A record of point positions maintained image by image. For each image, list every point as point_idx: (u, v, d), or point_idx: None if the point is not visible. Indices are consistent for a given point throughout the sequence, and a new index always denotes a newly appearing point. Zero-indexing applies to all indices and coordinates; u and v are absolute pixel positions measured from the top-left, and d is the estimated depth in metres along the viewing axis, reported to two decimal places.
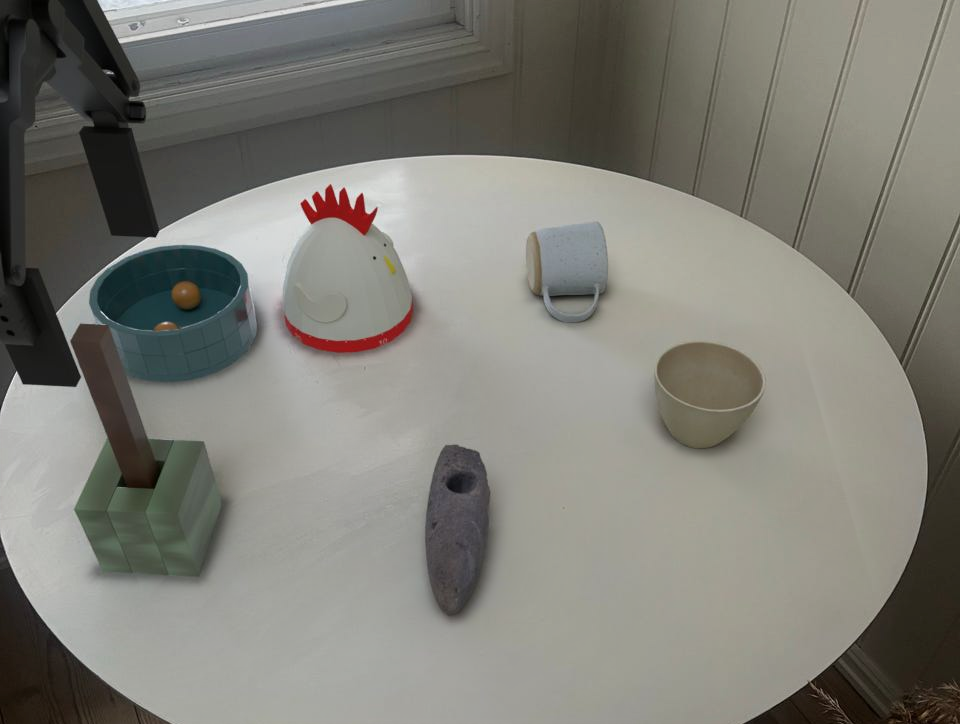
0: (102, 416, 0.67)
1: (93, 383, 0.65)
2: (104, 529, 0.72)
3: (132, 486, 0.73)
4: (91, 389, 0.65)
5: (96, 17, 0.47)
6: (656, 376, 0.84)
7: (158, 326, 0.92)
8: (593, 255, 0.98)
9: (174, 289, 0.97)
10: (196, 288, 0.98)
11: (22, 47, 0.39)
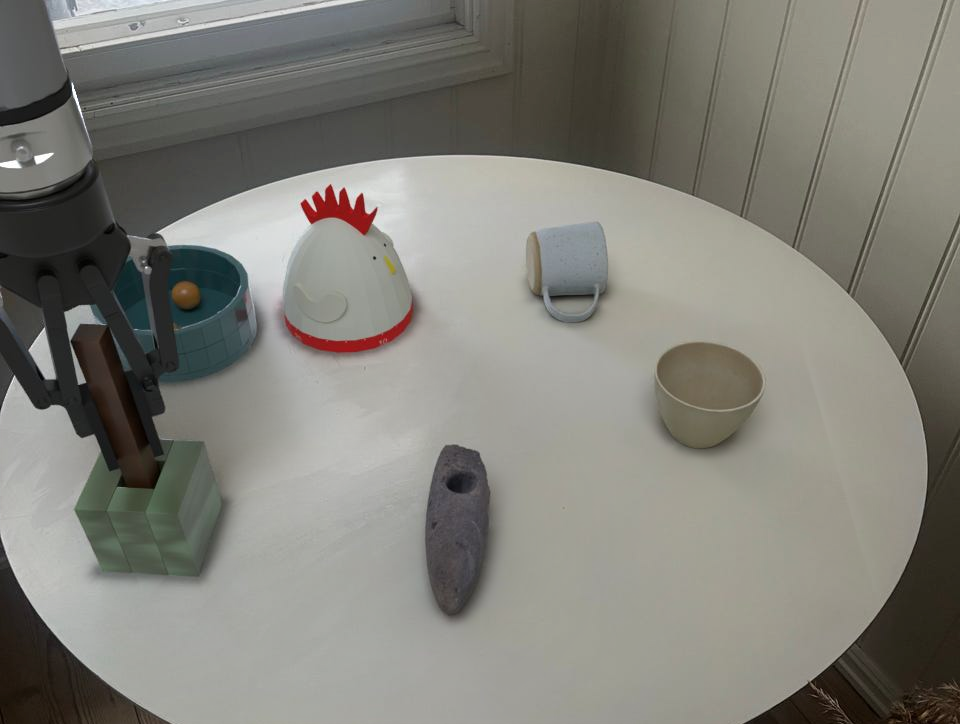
0: (102, 416, 0.67)
1: (93, 383, 0.65)
2: (104, 529, 0.72)
3: (132, 486, 0.73)
4: (91, 389, 0.65)
5: (157, 304, 0.62)
6: (656, 376, 0.84)
7: None
8: (593, 255, 0.98)
9: (174, 289, 0.97)
10: (196, 288, 0.98)
11: (40, 293, 0.57)
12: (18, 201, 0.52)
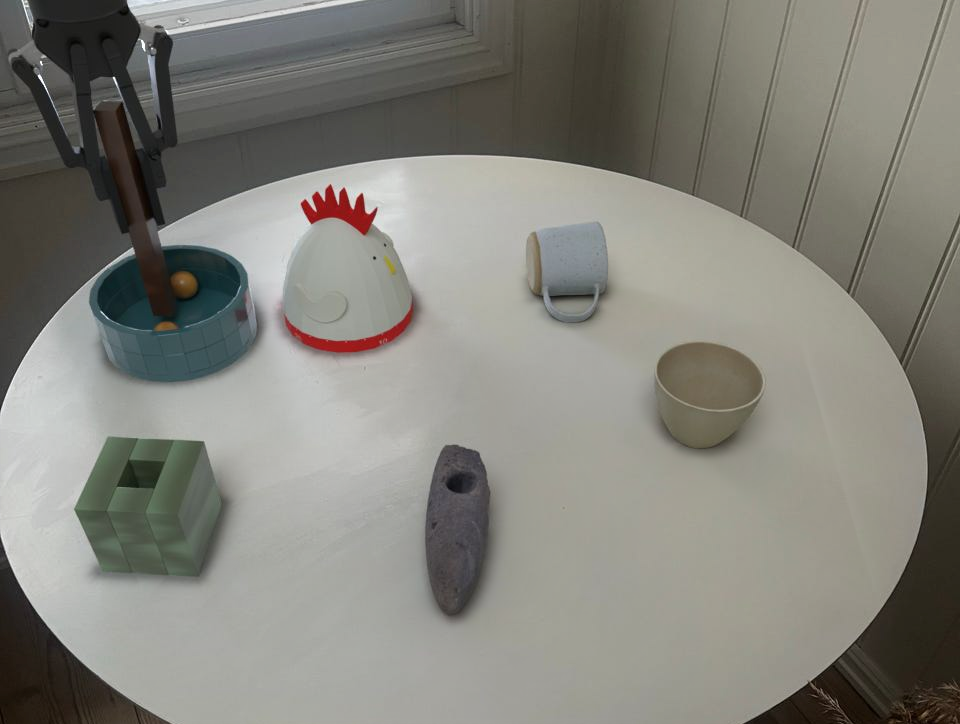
0: (116, 183, 0.85)
1: (110, 151, 0.83)
2: (104, 529, 0.72)
3: (139, 254, 0.91)
4: (109, 157, 0.83)
5: (160, 82, 0.80)
6: (656, 376, 0.84)
7: (158, 326, 0.92)
8: (593, 255, 0.98)
9: None
10: (192, 275, 1.00)
11: (71, 60, 0.75)
12: None
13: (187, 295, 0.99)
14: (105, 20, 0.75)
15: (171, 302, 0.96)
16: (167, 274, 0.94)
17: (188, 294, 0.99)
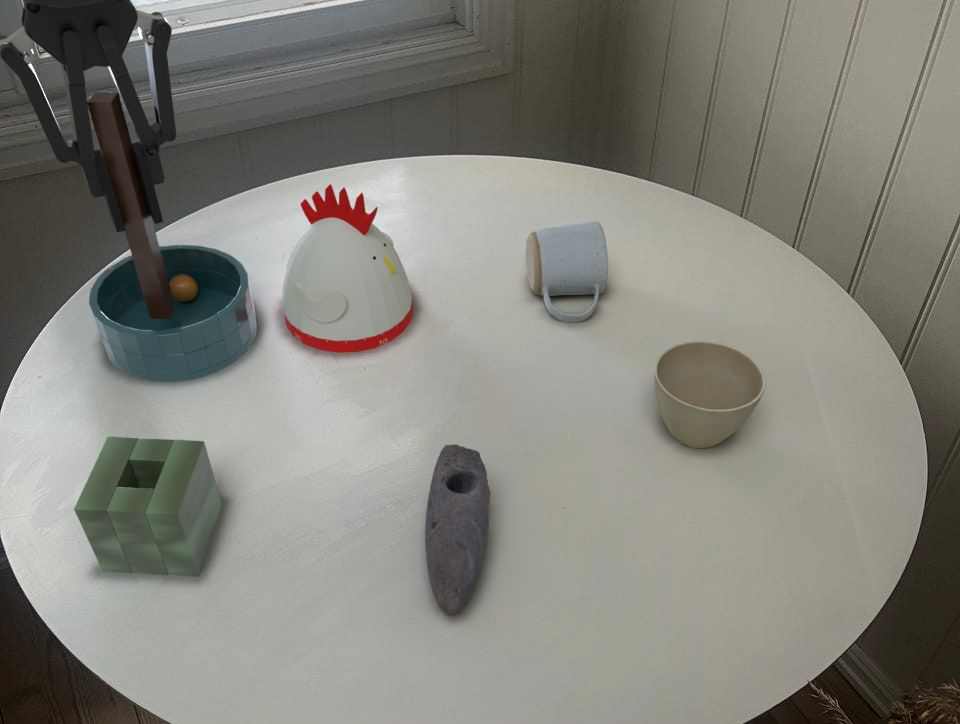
0: (112, 179, 0.81)
1: (105, 145, 0.79)
2: (104, 529, 0.72)
3: (136, 253, 0.86)
4: (103, 151, 0.79)
5: (158, 72, 0.76)
6: (656, 376, 0.84)
7: None
8: (593, 255, 0.98)
9: None
10: (191, 277, 0.99)
11: (64, 47, 0.71)
12: None
13: (188, 301, 0.99)
14: (100, 6, 0.71)
15: (169, 304, 0.91)
16: (165, 275, 0.90)
17: (189, 300, 0.99)
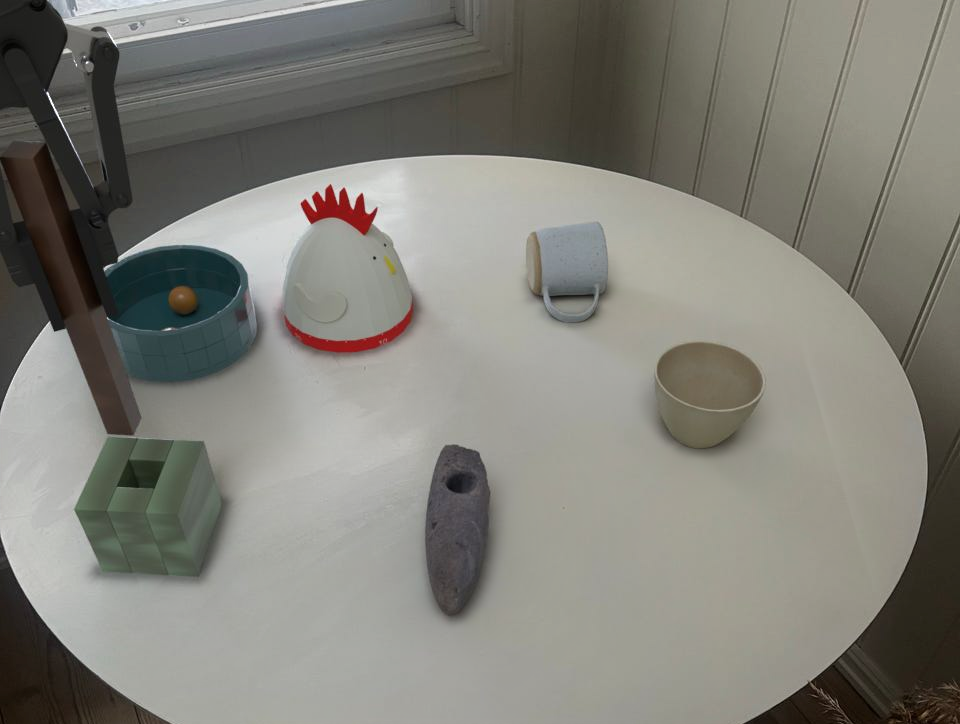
0: (43, 261, 0.57)
1: (30, 215, 0.55)
2: (104, 529, 0.72)
3: (83, 355, 0.63)
4: (28, 224, 0.56)
5: (102, 114, 0.53)
6: (656, 376, 0.84)
7: None
8: (593, 255, 0.98)
9: (170, 298, 0.97)
10: (192, 297, 0.97)
11: None
12: None
13: None
14: (8, 19, 0.48)
15: (131, 416, 0.68)
16: (125, 379, 0.66)
17: None
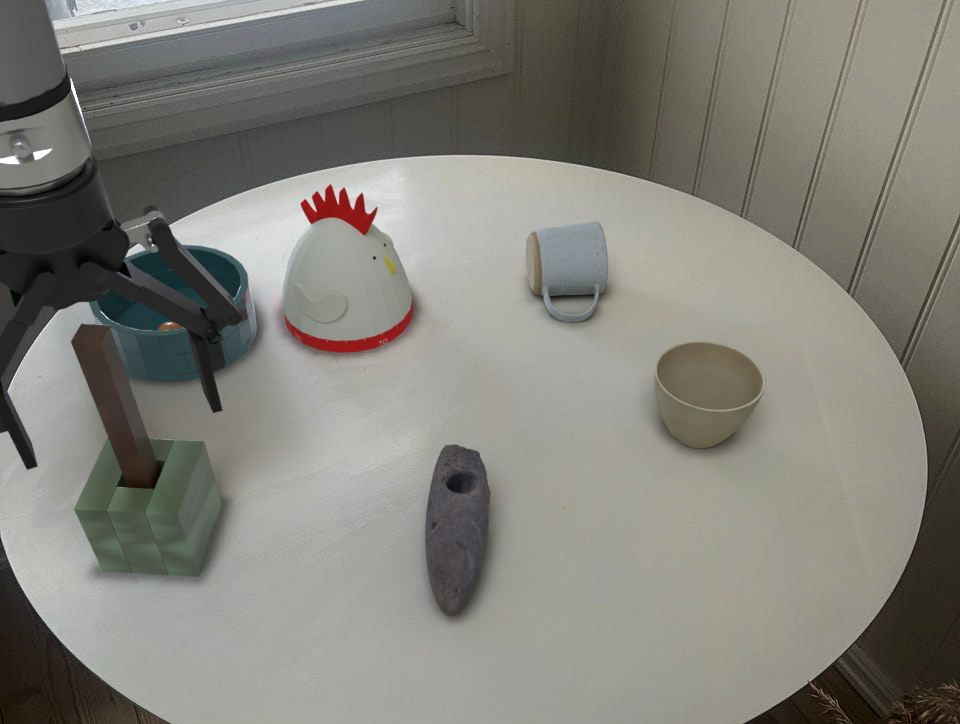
0: (103, 416, 0.67)
1: (94, 383, 0.65)
2: (104, 529, 0.72)
3: (133, 486, 0.73)
4: (92, 390, 0.65)
5: (183, 273, 0.62)
6: (656, 376, 0.84)
7: (164, 326, 0.92)
8: (593, 255, 0.98)
9: None
10: None
11: (32, 285, 0.57)
12: (17, 197, 0.52)
13: None
14: None
15: None
16: None
17: None
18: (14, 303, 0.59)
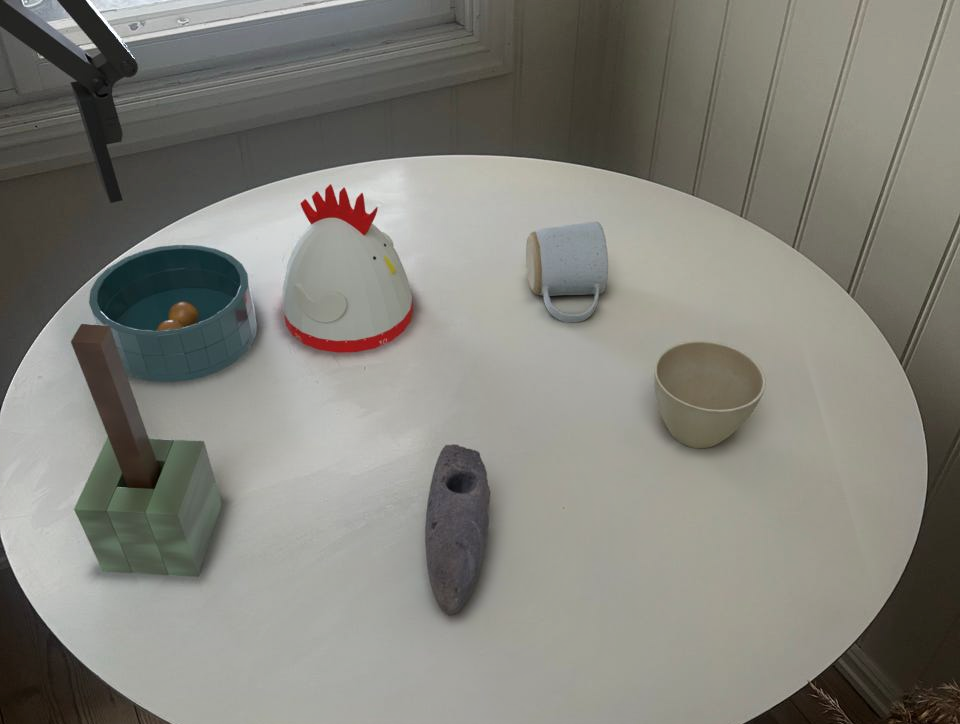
0: (103, 416, 0.67)
1: (94, 383, 0.65)
2: (104, 529, 0.72)
3: (133, 486, 0.73)
4: (92, 390, 0.65)
5: None
6: (656, 376, 0.84)
7: (165, 321, 0.93)
8: (593, 255, 0.98)
9: None
10: None
11: None
12: None
13: (184, 302, 0.96)
14: None
15: None
16: None
17: (186, 302, 0.96)
18: None
